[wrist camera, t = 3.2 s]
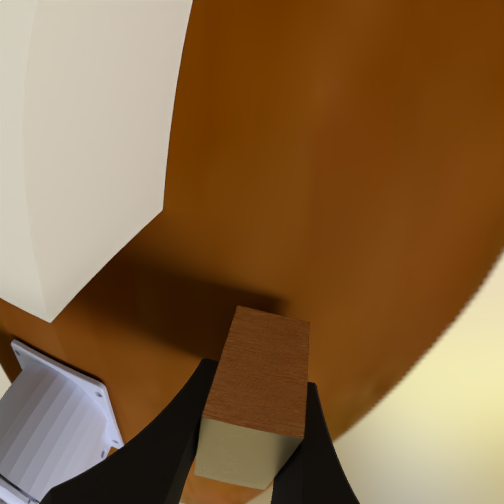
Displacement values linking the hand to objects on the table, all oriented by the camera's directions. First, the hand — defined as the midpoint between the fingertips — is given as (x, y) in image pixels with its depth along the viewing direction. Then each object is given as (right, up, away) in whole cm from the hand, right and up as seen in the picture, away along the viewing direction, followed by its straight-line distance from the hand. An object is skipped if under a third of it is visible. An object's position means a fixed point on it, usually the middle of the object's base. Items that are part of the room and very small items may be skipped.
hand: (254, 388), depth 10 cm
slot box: (-7, +12, -2) cm, 14 cm away
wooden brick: (0, +1, +1) cm, 2 cm away
